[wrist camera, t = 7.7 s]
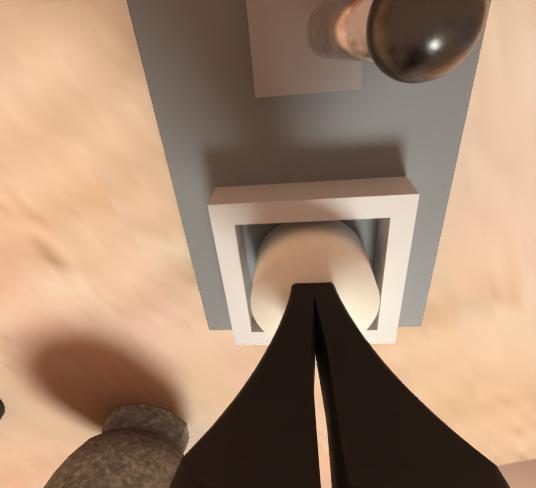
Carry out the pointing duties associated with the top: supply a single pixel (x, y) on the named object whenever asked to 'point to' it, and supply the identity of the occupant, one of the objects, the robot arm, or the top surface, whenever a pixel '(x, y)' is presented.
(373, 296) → the push button
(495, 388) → the top surface
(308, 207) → the panel
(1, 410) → the drinking cup
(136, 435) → the mortar and pestle
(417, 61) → the toggle lever
